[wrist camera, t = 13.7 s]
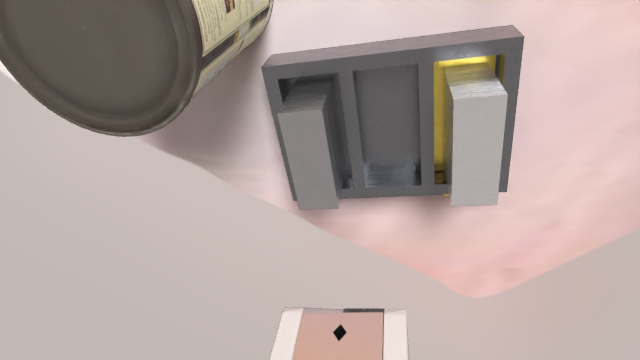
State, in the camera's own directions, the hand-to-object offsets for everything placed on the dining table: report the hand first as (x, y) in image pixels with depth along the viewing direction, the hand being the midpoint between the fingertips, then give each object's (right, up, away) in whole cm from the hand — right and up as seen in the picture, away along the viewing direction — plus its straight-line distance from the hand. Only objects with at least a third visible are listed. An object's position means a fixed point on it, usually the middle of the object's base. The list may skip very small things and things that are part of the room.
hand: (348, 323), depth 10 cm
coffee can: (-9, +18, +19) cm, 28 cm away
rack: (+5, +9, +23) cm, 25 cm away
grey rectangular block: (+10, +8, +20) cm, 24 cm away
